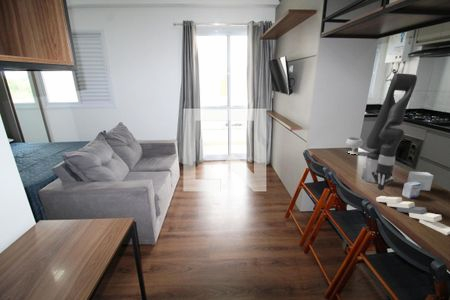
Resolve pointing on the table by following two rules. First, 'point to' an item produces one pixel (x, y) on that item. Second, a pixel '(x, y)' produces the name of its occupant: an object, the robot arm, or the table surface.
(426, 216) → the domino
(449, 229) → the domino
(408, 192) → the medicine box
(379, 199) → the domino
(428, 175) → the skincare box
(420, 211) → the domino
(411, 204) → the domino
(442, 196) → the table surface
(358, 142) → the chalice
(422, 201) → the table surface
